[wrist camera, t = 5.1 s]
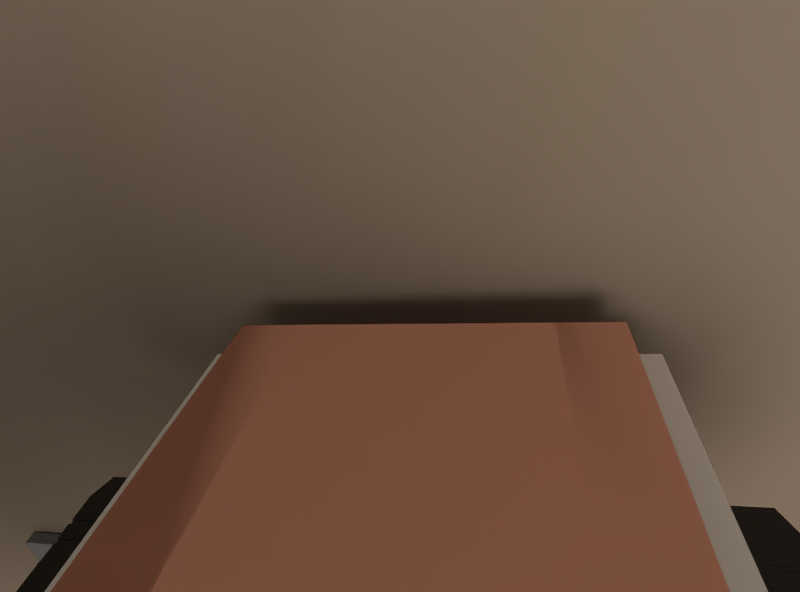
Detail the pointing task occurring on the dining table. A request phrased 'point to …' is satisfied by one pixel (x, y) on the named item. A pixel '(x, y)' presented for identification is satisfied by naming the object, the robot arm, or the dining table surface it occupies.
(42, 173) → the dining table surface
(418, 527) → the c link
